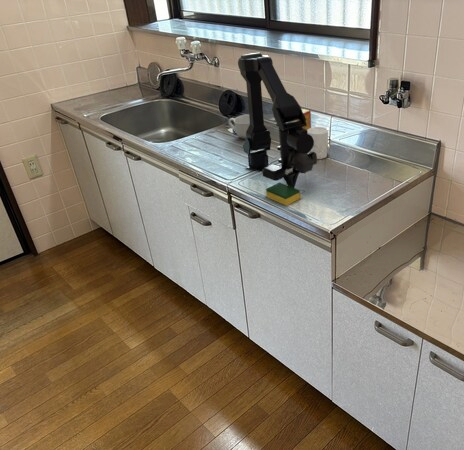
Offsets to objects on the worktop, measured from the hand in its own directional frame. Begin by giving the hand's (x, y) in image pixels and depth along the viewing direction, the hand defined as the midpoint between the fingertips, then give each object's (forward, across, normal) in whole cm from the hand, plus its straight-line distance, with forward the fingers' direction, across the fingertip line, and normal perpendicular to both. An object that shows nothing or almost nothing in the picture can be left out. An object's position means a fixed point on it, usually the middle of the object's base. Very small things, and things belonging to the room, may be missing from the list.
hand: (291, 189), depth 151 cm
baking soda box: (+2, +27, +25) cm, 37 cm away
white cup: (+2, +28, +15) cm, 32 cm away
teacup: (-3, +25, +53) cm, 59 cm away
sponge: (+1, -4, 0) cm, 4 cm away
